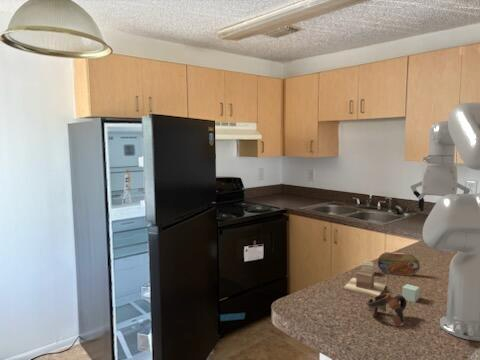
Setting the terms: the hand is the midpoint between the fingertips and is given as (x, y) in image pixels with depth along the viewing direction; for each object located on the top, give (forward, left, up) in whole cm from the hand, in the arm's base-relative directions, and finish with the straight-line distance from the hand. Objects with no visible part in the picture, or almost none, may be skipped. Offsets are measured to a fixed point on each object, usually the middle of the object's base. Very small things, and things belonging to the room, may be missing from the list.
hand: (437, 212), depth 122 cm
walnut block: (-7, +21, -28) cm, 35 cm away
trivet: (-7, +21, -28) cm, 36 cm away
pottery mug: (-26, +9, -29) cm, 40 cm away
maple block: (+9, +24, -28) cm, 38 cm away
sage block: (-8, +6, -28) cm, 30 cm away
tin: (+15, +14, -29) cm, 35 cm away
